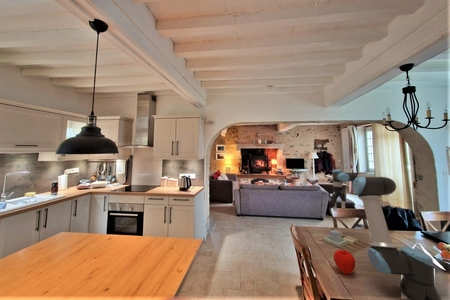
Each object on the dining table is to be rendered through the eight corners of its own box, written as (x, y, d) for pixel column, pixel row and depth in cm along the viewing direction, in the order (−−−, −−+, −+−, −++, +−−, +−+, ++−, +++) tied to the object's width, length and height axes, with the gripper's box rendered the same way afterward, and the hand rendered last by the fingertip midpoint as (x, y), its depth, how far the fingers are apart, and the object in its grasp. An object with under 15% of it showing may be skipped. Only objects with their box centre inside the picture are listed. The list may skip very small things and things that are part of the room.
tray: (339, 247, 143) (339, 243, 143) (324, 241, 154) (323, 237, 155) (347, 243, 148) (347, 240, 149) (332, 237, 160) (332, 234, 160)
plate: (352, 244, 147) (352, 241, 147) (342, 240, 154) (342, 238, 154) (357, 242, 150) (357, 239, 151) (347, 238, 158) (347, 236, 158)
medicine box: (338, 240, 154) (337, 230, 154) (341, 242, 149) (341, 232, 150) (329, 240, 154) (329, 230, 154) (332, 243, 149) (332, 232, 150)
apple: (330, 269, 117) (329, 248, 118) (342, 265, 122) (341, 245, 122) (347, 280, 106) (346, 258, 107) (360, 275, 110) (359, 254, 111)
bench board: (352, 255, 133) (351, 247, 133) (320, 241, 156) (319, 234, 156) (370, 246, 146) (370, 238, 146) (338, 234, 169) (338, 228, 169)
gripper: (333, 188, 153) (335, 212, 152) (349, 185, 165) (351, 208, 164) (325, 186, 160) (326, 210, 159) (341, 184, 172) (342, 206, 170)
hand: (339, 209), depth 161 cm, fingers open, 13 cm apart
